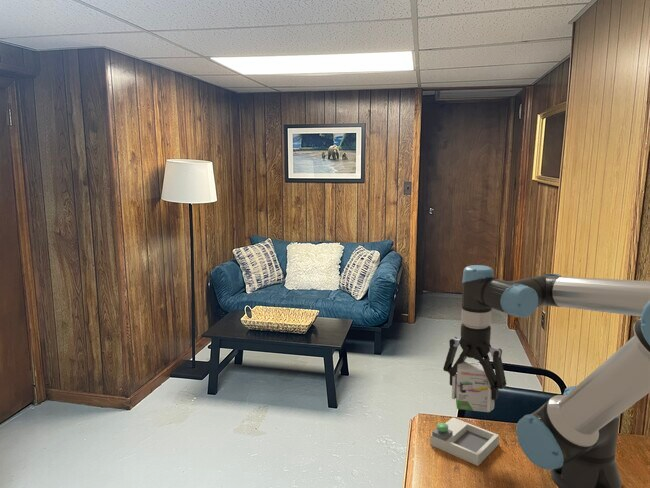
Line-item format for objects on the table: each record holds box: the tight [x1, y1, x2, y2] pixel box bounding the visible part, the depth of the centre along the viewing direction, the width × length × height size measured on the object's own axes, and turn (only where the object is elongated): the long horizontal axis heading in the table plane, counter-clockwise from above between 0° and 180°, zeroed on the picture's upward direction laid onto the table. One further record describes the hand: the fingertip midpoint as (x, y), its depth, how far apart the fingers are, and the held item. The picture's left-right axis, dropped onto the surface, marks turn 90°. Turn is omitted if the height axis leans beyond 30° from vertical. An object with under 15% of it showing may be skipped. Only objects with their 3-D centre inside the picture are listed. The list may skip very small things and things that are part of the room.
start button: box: [436, 422, 448, 433], centre depth 132 cm, size 3×3×2 cm
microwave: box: [429, 417, 500, 467], centre depth 132 cm, size 14×12×4 cm
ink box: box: [455, 361, 491, 413], centre depth 128 cm, size 8×5×12 cm, turn 77°
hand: (472, 403), depth 129 cm, fingers closed on ink box, 9 cm apart
